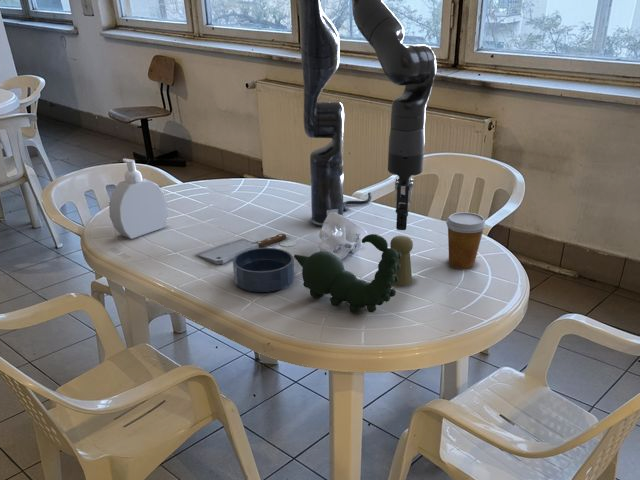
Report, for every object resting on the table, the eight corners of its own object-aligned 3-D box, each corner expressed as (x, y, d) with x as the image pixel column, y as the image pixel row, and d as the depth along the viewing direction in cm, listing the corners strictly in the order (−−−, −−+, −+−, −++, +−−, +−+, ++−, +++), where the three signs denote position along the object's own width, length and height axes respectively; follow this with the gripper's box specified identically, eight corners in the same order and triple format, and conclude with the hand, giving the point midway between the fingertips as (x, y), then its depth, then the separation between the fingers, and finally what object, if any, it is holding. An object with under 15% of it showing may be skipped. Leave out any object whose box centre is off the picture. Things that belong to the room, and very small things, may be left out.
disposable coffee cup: (483, 259, 158) (489, 214, 152) (477, 274, 150) (483, 227, 144) (446, 254, 161) (450, 209, 154) (439, 268, 153) (443, 222, 147)
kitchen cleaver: (269, 228, 174) (291, 236, 168) (270, 232, 175) (292, 240, 168) (195, 252, 160) (216, 262, 154) (195, 256, 161) (216, 266, 154)
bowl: (243, 266, 154) (241, 246, 151) (299, 269, 153) (298, 249, 150) (227, 292, 142) (225, 270, 139) (287, 295, 141) (286, 273, 138)
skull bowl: (300, 252, 158) (318, 206, 157) (334, 265, 169) (350, 223, 168) (329, 263, 152) (347, 216, 150) (361, 277, 163) (379, 233, 161)
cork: (385, 276, 150) (386, 233, 144) (409, 275, 150) (412, 232, 144) (388, 287, 144) (390, 243, 139) (414, 286, 145) (417, 242, 139)
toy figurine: (398, 313, 137) (303, 280, 146) (410, 234, 126) (307, 204, 135) (379, 332, 130) (281, 296, 139) (390, 250, 119) (283, 217, 129)
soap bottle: (159, 221, 182) (148, 152, 171) (171, 225, 179) (160, 155, 168) (112, 237, 171) (97, 165, 160) (124, 242, 168) (109, 168, 158)
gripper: (390, 141, 137) (387, 211, 146) (386, 157, 125) (383, 233, 134) (424, 142, 136) (419, 213, 145) (423, 159, 124) (417, 235, 133)
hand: (402, 222), depth 139 cm, fingers open, 8 cm apart
